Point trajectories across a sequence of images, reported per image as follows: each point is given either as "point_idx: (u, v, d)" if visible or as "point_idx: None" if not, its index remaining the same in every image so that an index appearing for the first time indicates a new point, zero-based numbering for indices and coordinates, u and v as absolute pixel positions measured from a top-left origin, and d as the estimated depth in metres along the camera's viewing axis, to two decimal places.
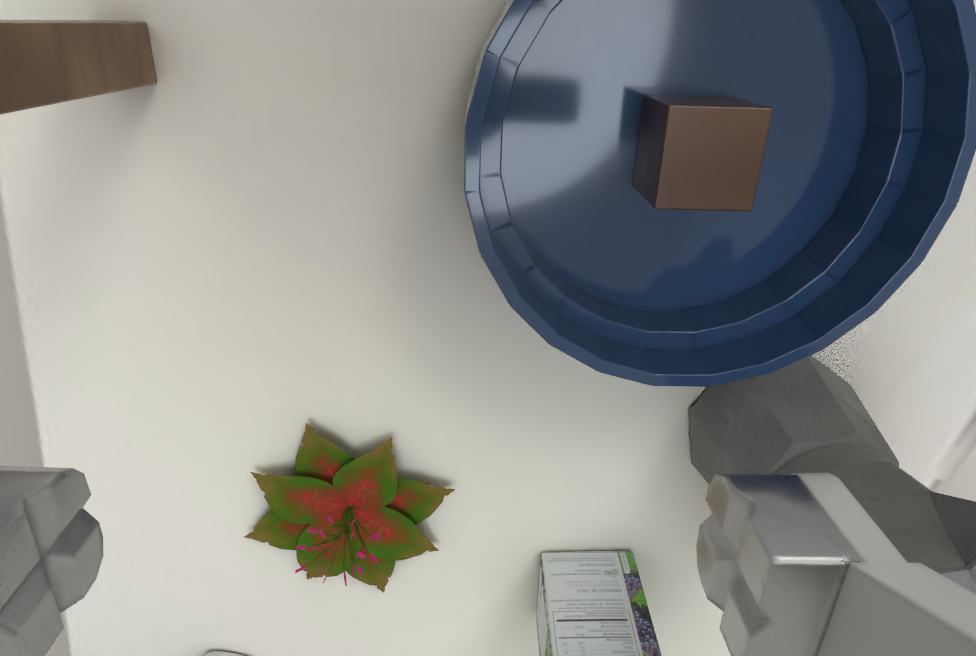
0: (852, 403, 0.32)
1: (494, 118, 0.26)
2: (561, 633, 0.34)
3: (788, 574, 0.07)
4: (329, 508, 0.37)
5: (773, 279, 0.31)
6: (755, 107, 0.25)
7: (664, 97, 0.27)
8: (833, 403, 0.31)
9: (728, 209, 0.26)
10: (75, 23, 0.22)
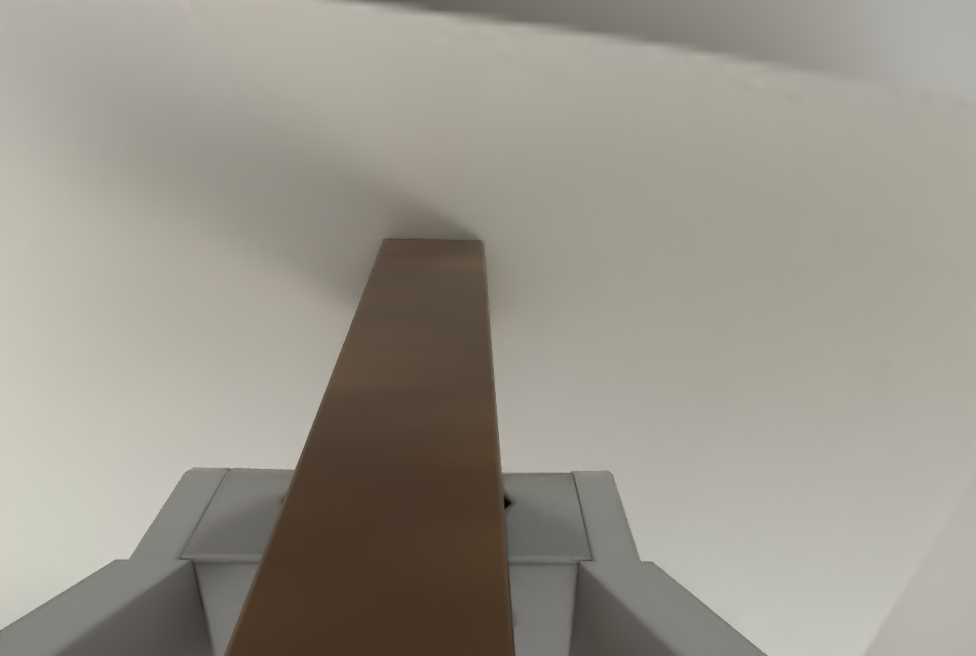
0: None
1: None
2: None
3: (522, 573, 0.07)
4: None
5: None
6: None
7: None
8: None
9: None
10: None
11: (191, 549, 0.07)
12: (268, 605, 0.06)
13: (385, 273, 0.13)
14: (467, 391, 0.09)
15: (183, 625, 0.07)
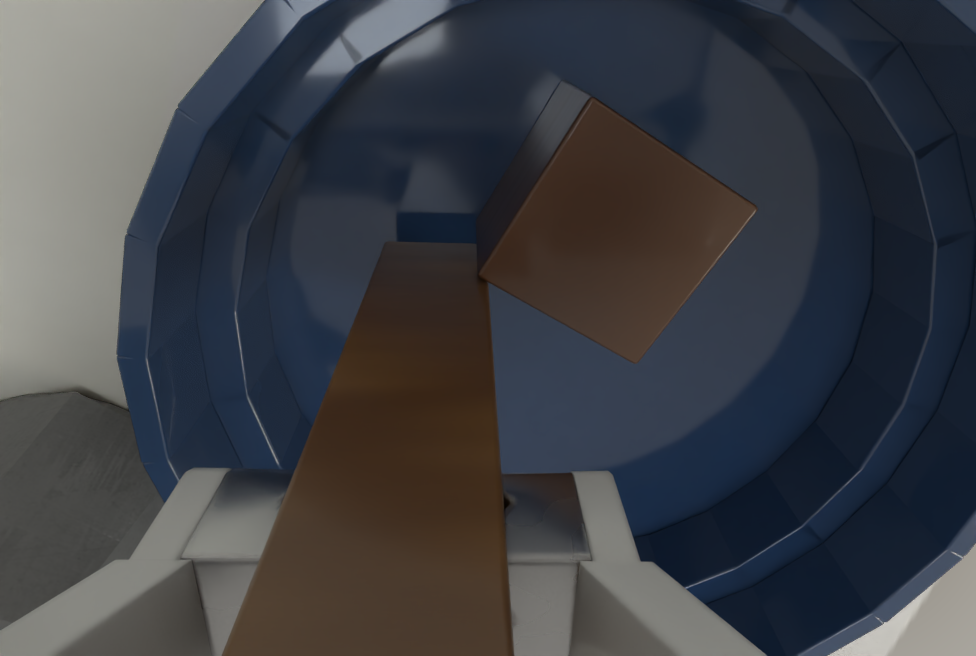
0: None
1: None
2: None
3: (522, 573, 0.07)
4: None
5: None
6: (654, 340, 0.14)
7: None
8: None
9: (506, 237, 0.13)
10: None
11: (191, 550, 0.07)
12: (267, 604, 0.06)
13: (387, 274, 0.13)
14: (468, 392, 0.09)
15: (183, 625, 0.07)
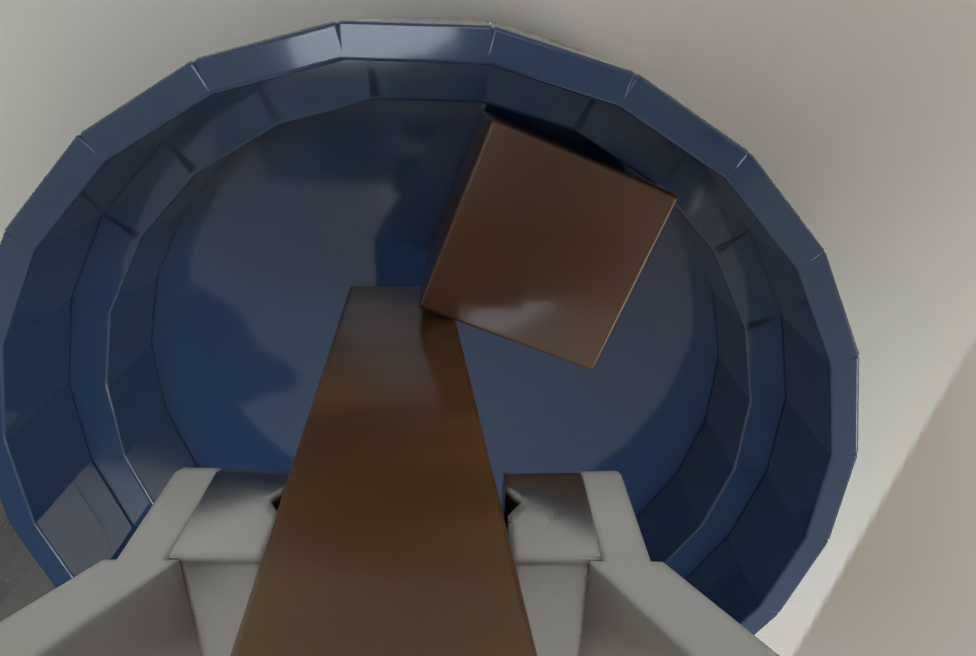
0: None
1: (483, 85, 0.13)
2: None
3: (532, 573, 0.07)
4: None
5: None
6: (605, 343, 0.14)
7: None
8: None
9: (438, 264, 0.13)
10: None
11: (179, 549, 0.07)
12: (280, 584, 0.06)
13: (357, 313, 0.14)
14: (451, 406, 0.09)
15: (171, 625, 0.07)
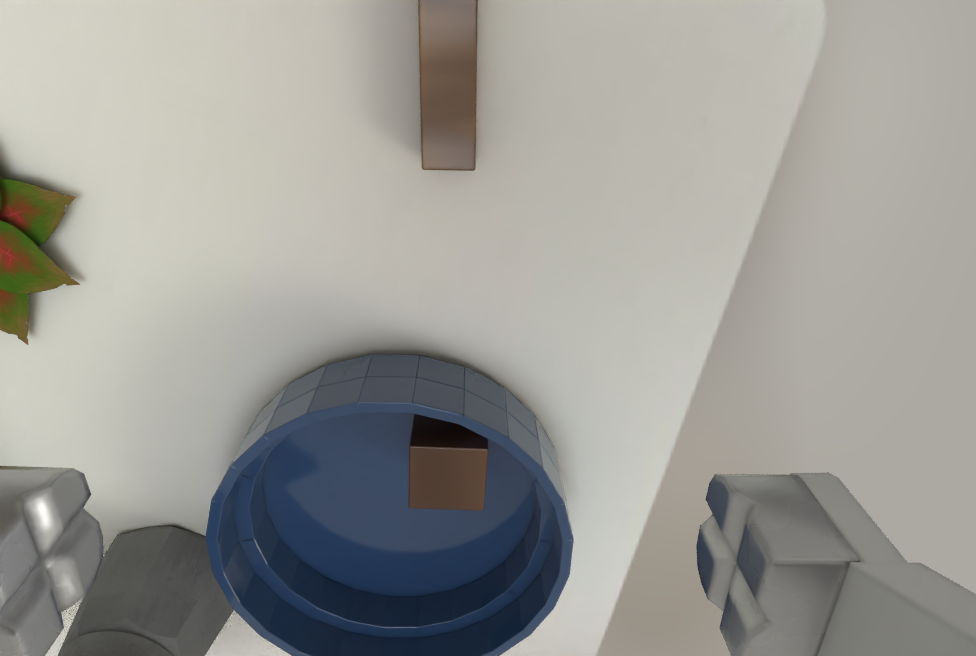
0: None
1: None
2: None
3: (788, 574, 0.07)
4: None
5: (303, 567, 0.41)
6: (484, 500, 0.35)
7: None
8: (210, 641, 0.39)
9: (409, 493, 0.34)
10: (476, 39, 0.27)
11: None
12: None
13: None
14: None
15: None
